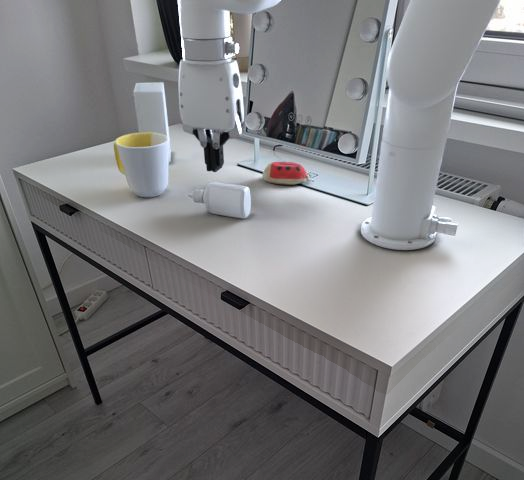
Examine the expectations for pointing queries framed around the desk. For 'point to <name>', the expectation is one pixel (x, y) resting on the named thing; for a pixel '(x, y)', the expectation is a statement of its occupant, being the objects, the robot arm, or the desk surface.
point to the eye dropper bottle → (224, 199)
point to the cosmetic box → (151, 109)
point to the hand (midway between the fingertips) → (214, 169)
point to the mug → (143, 162)
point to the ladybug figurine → (285, 173)
